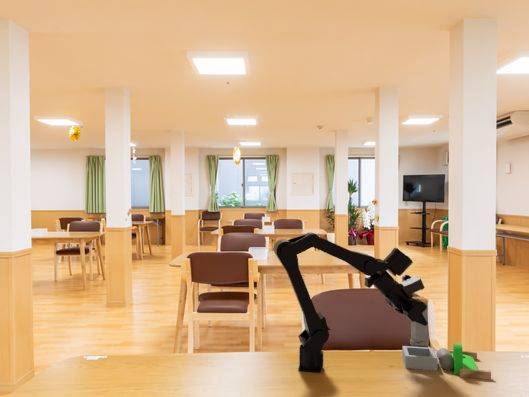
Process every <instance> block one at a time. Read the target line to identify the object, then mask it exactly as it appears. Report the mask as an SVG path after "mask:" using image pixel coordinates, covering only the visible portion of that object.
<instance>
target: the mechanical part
mask: <svg viewBox="0 0 529 397" xmlns="http://www.w3.org/2000/svg"><path fill="white" fill-rule="evenodd" d="M452 346H453V347H452V350H453V353H451V355H452V357H453V359H454V368H453V369H452V370H453V372H454V375H460V369H473V370H479V368H478V367H477V365H476V362H475V359H473V358H472V357H471V356H468V355H464V354H463V351H464V350H463V345H462V343H455V342H453V344H452Z"/></svg>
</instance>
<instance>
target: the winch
mask: <svg viewBox="0 0 529 397" xmlns="http://www.w3.org/2000/svg"><path fill="white" fill-rule="evenodd" d="M449 350H450V349H447V347H446V348H445V347H441V348H438V349H437V351H436V352H435V350H434V348H433V347H428V346H427V347H416V346H413V345H411V346H409V345H402V355H401V356H402V360H403V363H404V368H405V369H415V370H425V371H426V370H429V371H438V370H439V369H438V361H439V363H440V366H441V367H442V368H443V369H444V370H448V371H450V370H454V369H453V368H454V359H453V357H452V355H451V354H450V352H449Z"/></svg>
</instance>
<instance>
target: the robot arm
mask: <svg viewBox="0 0 529 397" xmlns="http://www.w3.org/2000/svg"><path fill="white" fill-rule="evenodd" d="M312 248H314V249H317V250H319V251H320V252H324V253H326V254H328V255H330V256H332V257H334V258H336V259H338V260H341V261H343V262H345V263H347V265H350V266H351V267H352V268H354V269H355V270H357V271H358V272H360V273H361V274H363V275H364V276H368V277H364V286H365V287H367V288H368V289H371V287H372V286H373V287H375V288H376V289H377V290H378V292H380V293H381V295H382V297H384V298H385V303H386V304H387V305H388V306H389V307H391V308H392V309H393V308H395V309H394V310H395V311H396V312H397V313H400V314H402V315H403V316H404V317H405V318H406V319H408V320H409V321H410V322H411V321H412V322H413V321H415V322H417V323H420V324H422V325H424V326H426V325H427V324H429V323H427V321H426V319H425V317H424V316H423V314H422V313H423V312H424V311H425V310H426V309H427V305H426V304H425V303H424V302H423V301H421V300H419V299H413V300H412V301H411V298H412V297H414V293H417V292H419V291H422V290H424V289H425V286H424V282H423V280H422V279H421V277H419V276H417V275H412V276H410V274H407V273H405V272H406V271H407V269H408V268H410V267H411V266H412V264H413V263H414V262H413V260H412V259H411V258H410V257H409V256H408V255H406V254H405V253H404V252H402V251H401V250H400V249H399V248H397V247H394V248H392V250H391V252H390V253H388V255H387V256H386V257H385V258H384V259H381V258H376V257H374V256H372V255H369V254H367V253H364V252H360V251H356V250H355V251H354V250H350V249H347V248H345V247H343V246H341V245H338V244H336V243H334V242H332V241H330V240H327V239H325V238H324V237H321V236H319V235H318V234H316V233H314V232H307V233H305V234H302V235H299V236H296V237H292V238H289V239H284V238H282V239H279V240H277V241H276V242H275V243H274V246H273V251H274V254H275V256H276V258H277V259H278V260H279V262H280V264H281V266H282V267H283V269H284V270H285V272H286V275H287V277H288V280H289V282H290V284H291V287H292V289H293V292H294V294H295V297H296V300H297V302H298V305H299V308H300V309H301V312H302V316H303V318H302V319H303V324H304V330H303V331H302V332H301V333H300V334H299V335H298V340H299V342H300V345H299V351H298V353H299V356H298V357H299V359H298V360H299V361H298V362H299V363H298V364H299V365H298V368H297V369H298V371H301V372H312V373H321V372H322V368H323V367H324V351H323V347H324V345H325V344H326V342H327V341H328V340H329V338H330V332H329V331H331V328H330V327H329V326H328V323H327V320H326V319H327V318H326V317H325V315H324V314H323V313H322V312H321V311H319V312H317V311H316V308H315V306H314V303H313V301H312V298H311V295H310V293H309V291H308V288H307V285H306V283H305V280H304V277H303V275H302V273H301V272H302V271H300V270H301V269H300V266H299V258H298V255H299V254H302V253H304V252H306V251H308V250H309V249H312ZM404 273H405V274H404ZM393 276H394V277H396V276H398V277H401V276H402V277H401V278H402V280H401V282H400V283H399V282H398V281H397V280H396V279H394V277H393Z"/></svg>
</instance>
